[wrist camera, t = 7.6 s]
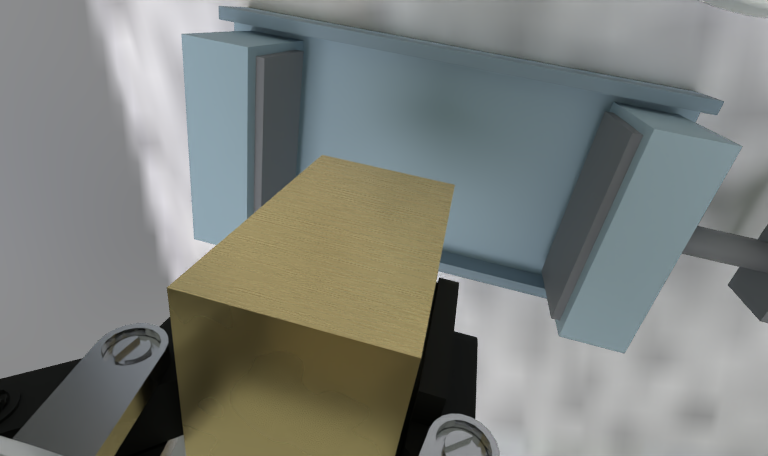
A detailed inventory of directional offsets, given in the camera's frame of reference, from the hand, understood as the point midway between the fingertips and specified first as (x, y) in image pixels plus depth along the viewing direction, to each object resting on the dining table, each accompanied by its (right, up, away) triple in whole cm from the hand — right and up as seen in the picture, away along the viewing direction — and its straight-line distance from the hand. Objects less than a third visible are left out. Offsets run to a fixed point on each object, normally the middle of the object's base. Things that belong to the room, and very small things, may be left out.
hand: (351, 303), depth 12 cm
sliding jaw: (+16, +3, +10) cm, 19 cm away
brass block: (+1, +1, +2) cm, 2 cm away
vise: (+4, +7, +14) cm, 16 cm away
